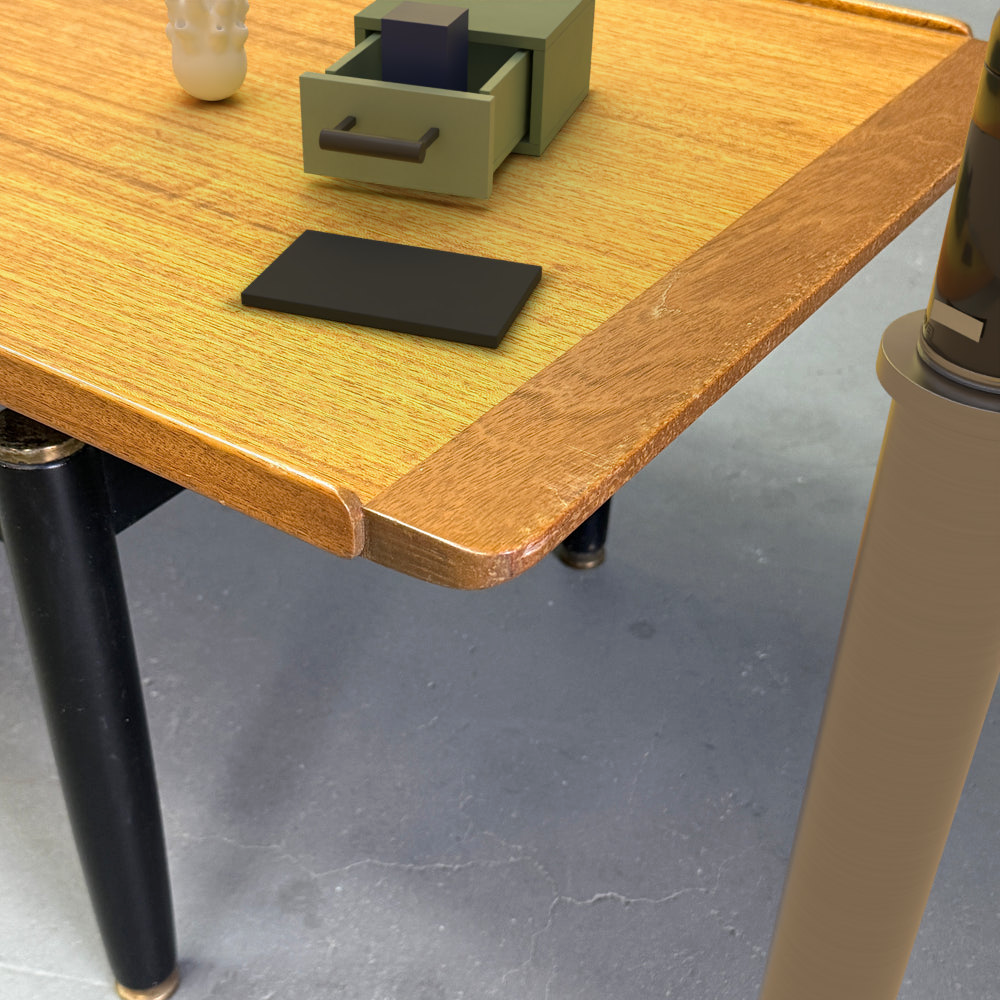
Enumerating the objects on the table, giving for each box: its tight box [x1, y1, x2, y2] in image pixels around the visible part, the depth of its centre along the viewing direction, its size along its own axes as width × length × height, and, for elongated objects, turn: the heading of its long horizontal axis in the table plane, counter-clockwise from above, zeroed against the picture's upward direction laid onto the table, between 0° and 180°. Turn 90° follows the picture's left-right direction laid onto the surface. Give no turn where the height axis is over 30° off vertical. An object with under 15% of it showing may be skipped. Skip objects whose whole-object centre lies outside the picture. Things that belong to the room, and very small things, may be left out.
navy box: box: [381, 1, 469, 92], centre depth 99 cm, size 5×5×9 cm
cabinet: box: [353, 0, 596, 157], centre depth 110 cm, size 16×15×9 cm
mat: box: [240, 228, 543, 349], centre depth 85 cm, size 16×10×1 cm, turn 73°
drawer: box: [298, 31, 534, 201], centre depth 99 cm, size 19×14×7 cm
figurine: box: [164, 0, 250, 102], centre depth 110 cm, size 7×7×12 cm
